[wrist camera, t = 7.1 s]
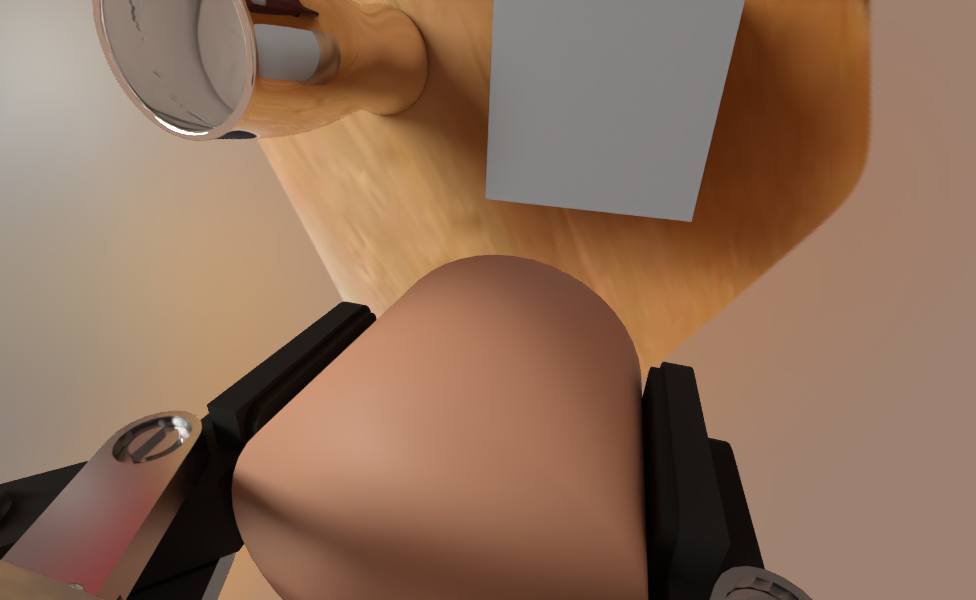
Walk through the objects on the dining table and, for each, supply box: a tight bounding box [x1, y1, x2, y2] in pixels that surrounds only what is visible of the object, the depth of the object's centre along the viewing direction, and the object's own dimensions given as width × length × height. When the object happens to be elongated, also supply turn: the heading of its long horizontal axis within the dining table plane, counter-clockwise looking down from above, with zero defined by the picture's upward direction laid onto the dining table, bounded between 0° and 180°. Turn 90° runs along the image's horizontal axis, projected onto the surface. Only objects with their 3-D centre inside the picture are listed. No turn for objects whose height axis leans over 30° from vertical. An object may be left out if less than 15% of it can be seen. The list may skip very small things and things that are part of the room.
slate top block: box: [485, 0, 745, 222], centre depth 20 cm, size 9×9×4 cm
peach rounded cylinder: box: [232, 255, 648, 600], centre depth 8 cm, size 6×6×5 cm
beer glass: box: [92, 0, 428, 141], centre depth 22 cm, size 7×7×15 cm
